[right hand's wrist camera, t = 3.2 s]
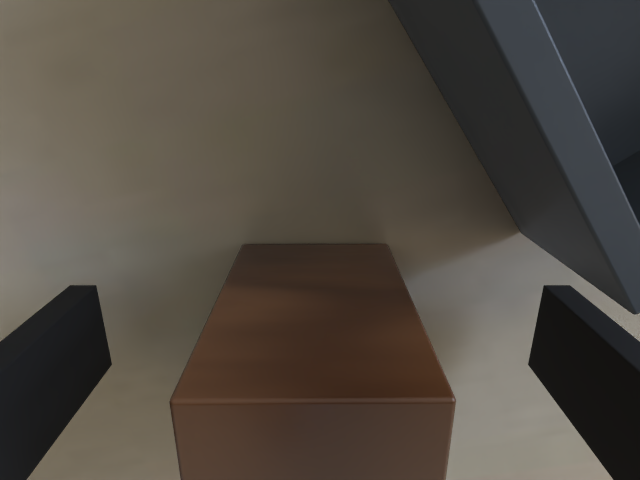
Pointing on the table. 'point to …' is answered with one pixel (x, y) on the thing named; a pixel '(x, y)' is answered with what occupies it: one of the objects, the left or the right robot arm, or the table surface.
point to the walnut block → (313, 373)
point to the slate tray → (549, 119)
